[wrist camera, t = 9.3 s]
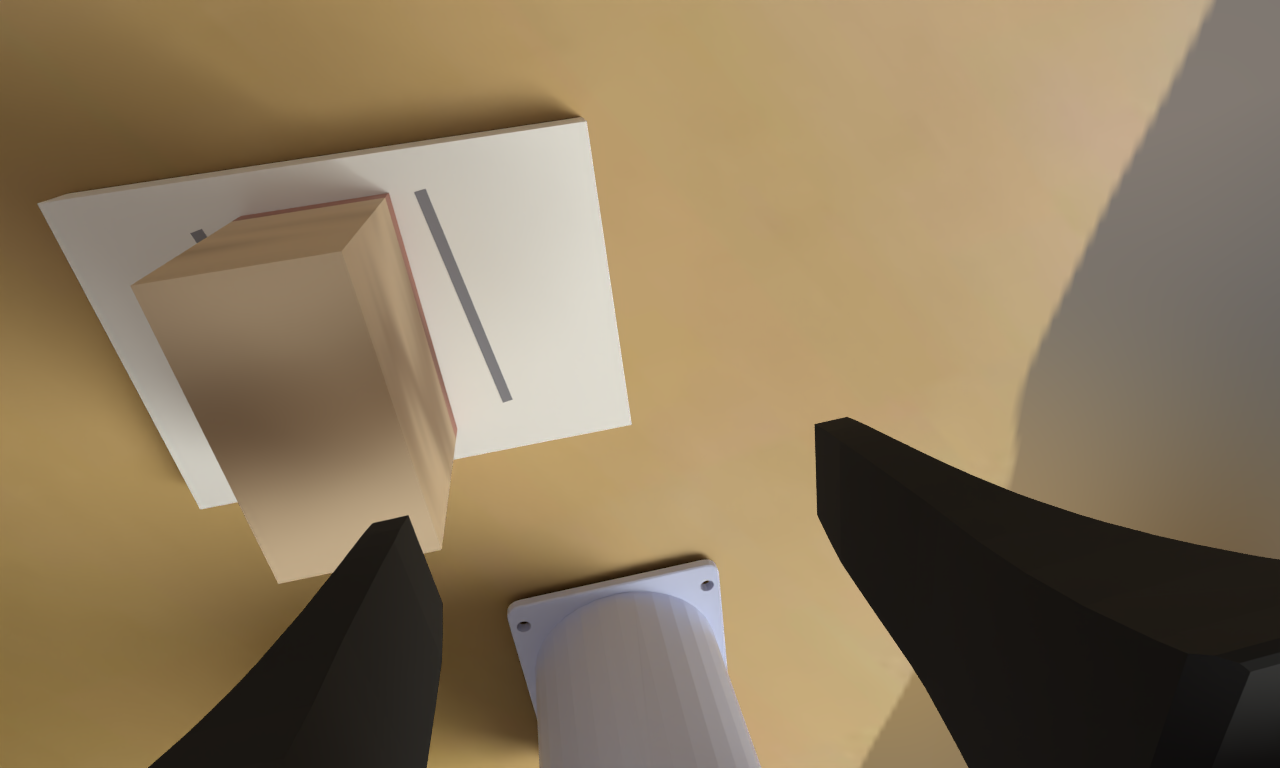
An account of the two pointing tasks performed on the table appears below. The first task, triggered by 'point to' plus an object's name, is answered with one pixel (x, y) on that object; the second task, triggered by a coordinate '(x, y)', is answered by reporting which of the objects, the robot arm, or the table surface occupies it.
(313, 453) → the block
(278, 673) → the robot arm
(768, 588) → the table surface
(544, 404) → the board
